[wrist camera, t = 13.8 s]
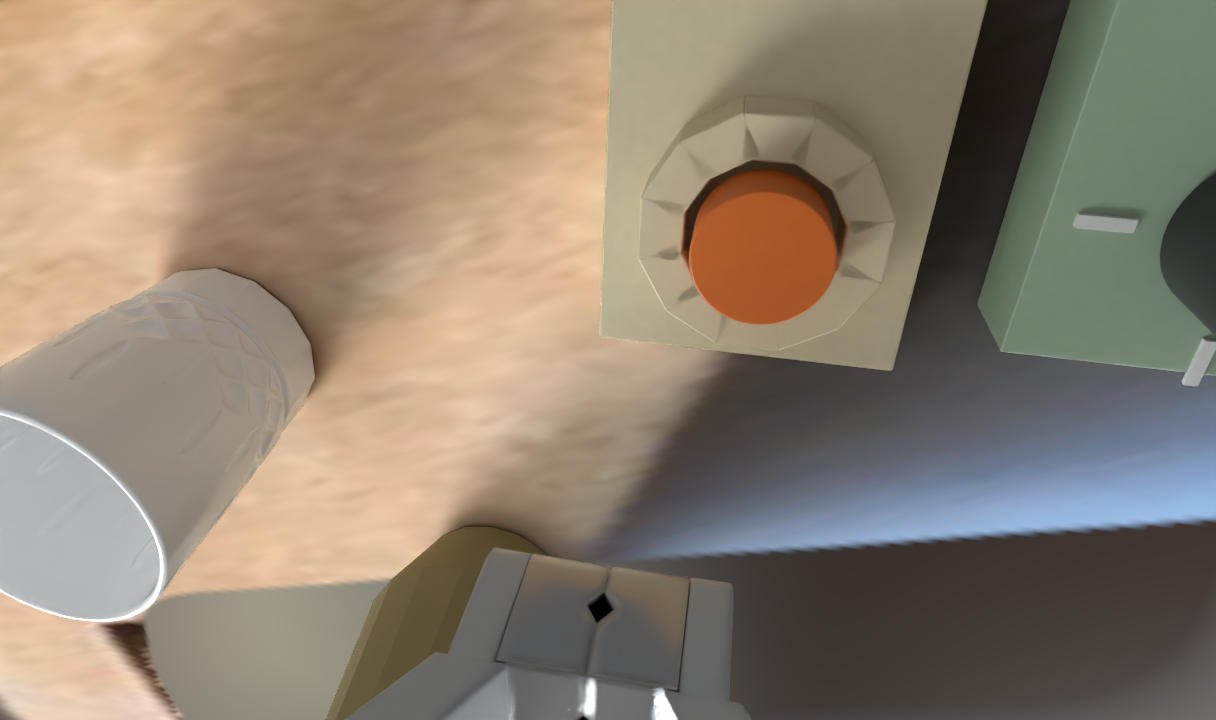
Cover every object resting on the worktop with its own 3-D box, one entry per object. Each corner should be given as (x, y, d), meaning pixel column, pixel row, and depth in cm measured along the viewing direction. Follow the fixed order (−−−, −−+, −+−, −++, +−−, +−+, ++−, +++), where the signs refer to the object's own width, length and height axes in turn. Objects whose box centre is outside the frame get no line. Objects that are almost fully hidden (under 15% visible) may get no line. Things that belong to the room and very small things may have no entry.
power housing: (626, -59, 22) (600, -48, 18) (976, -40, 20) (1018, -25, 17) (610, 306, 27) (588, 367, 24) (883, 337, 26) (901, 404, 23)
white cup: (368, 406, 31) (220, 602, 23) (214, 448, 34) (29, 638, 25) (256, 223, 28) (34, 372, 19) (95, 285, 30) (-164, 440, 22)
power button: (700, 162, 21) (695, 183, 19) (844, 174, 20) (851, 197, 19) (688, 289, 22) (682, 317, 21) (819, 302, 22) (823, 333, 21)
